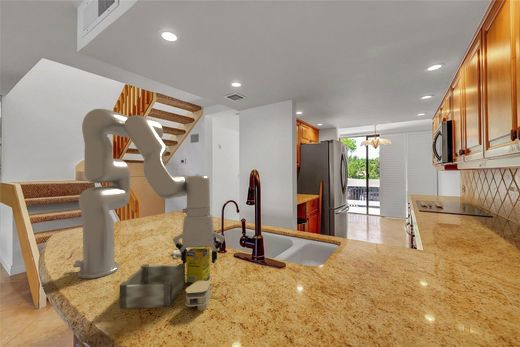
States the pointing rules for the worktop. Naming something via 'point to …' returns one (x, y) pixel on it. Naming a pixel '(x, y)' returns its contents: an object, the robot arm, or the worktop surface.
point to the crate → (152, 286)
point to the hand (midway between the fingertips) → (199, 262)
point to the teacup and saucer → (177, 253)
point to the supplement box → (198, 264)
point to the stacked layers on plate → (198, 294)
